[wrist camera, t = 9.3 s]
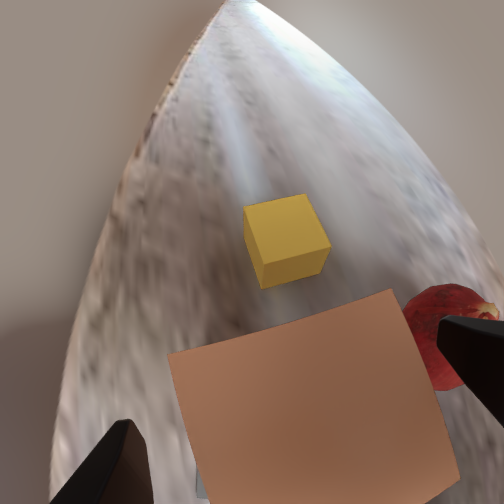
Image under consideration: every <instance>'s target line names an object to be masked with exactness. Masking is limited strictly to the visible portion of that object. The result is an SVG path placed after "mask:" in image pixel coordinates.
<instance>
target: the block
mask: <svg viewBox="0 0 504 504" xmlns="http://www.w3.org/2000/svg"><path fill="white" fill-rule="evenodd" d="M243 221H244V240H245V243H246V246H247V249H248V252H249V255H250V258H251V261H252V264H253V267H254V270H255V272H256V275H257V278H258V281H259V284H260V287H261V290H262V289H266V288H270V287H273V286H277V285H281V284H284V283H288V282H291V281H295V280H298V279H302V278H306V277H309V276H312V275H316V274H319V273H320V272H321V270H322V268H323V265H324V263H325V261H326V259H327V256H328V254H329V252H330V249H331V247H332V246H331V244H330V241H329V239H328V237H327V235H326V233H325V231H324V229H323V227H322V225H321V223H320V221H319V219H318V217H317V215H316V213H315V211H314V209H313V207H312V205H311V203H310V201H309V199H308V197H307V195H306V193H305V194H300V195H295V196H290V197H286V198H281V199H276V200H271V201H267V202H262V203H258V204H253V205H249V206H244V207H243Z"/></svg>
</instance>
